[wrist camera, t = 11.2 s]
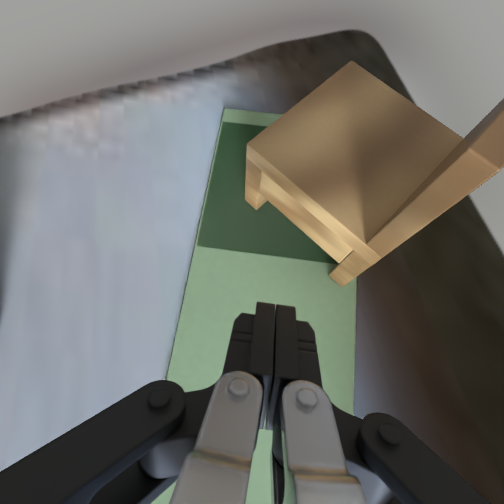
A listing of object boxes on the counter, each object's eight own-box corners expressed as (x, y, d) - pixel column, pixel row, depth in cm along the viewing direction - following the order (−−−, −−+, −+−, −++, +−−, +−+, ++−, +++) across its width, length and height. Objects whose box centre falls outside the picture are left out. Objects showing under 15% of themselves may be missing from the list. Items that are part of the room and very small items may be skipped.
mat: (137, 520, 16) (135, 522, 16) (224, 109, 25) (224, 107, 25) (349, 556, 16) (350, 558, 15) (359, 124, 25) (360, 123, 25)
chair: (244, 199, 22) (251, -5, 10) (325, 129, 24) (411, -104, 12) (341, 288, 20) (500, 171, 8) (419, 202, 23) (632, 12, 10)
